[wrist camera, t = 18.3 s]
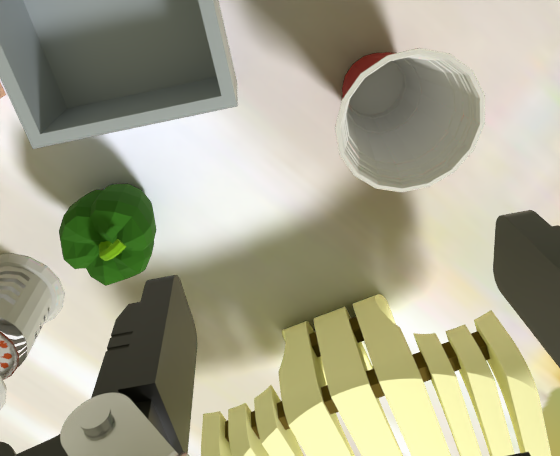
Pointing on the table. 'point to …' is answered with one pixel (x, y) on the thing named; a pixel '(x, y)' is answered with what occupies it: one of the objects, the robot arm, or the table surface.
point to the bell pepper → (109, 233)
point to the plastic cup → (408, 118)
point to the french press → (24, 308)
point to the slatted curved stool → (384, 392)
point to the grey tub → (112, 64)
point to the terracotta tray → (1, 91)
